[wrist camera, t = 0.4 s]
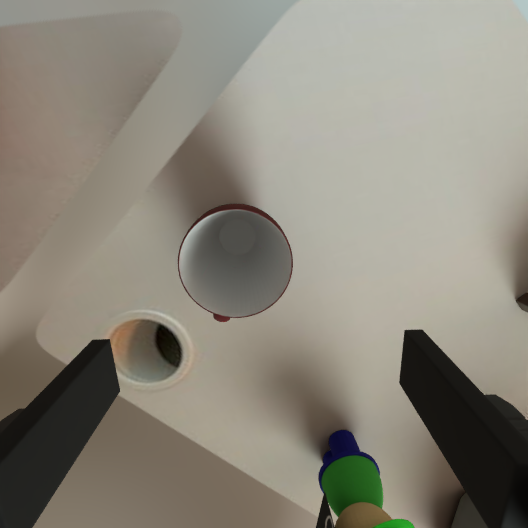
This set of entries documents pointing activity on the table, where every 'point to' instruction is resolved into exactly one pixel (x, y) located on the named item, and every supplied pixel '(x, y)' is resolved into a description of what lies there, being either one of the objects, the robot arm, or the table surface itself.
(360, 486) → the toy
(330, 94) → the table surface
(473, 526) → the alarm clock
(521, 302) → the chair
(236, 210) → the mug
